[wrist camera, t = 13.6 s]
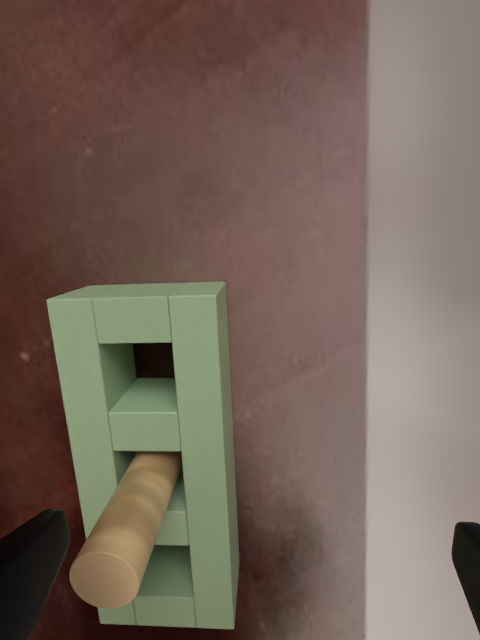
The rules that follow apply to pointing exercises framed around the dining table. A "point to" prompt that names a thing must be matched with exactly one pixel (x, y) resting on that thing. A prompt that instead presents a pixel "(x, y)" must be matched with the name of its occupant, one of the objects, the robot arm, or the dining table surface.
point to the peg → (126, 531)
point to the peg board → (157, 435)
